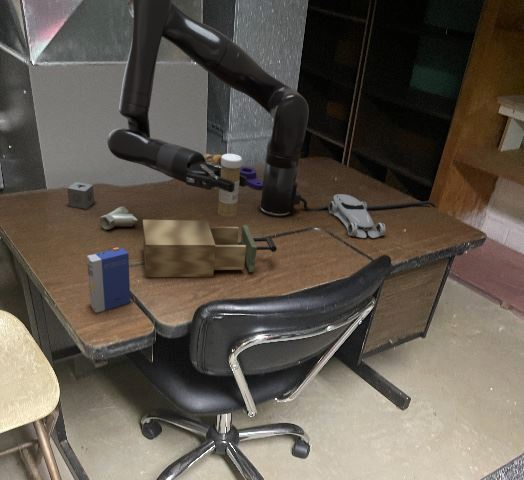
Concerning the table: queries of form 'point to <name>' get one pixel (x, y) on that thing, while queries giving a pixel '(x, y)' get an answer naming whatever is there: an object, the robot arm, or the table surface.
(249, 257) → the drawer
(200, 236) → the cabinet
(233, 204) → the sprinkles bottle
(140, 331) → the table surface
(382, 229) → the car model
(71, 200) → the dice cube
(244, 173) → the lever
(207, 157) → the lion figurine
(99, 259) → the walkman
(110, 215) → the pipe fitting
